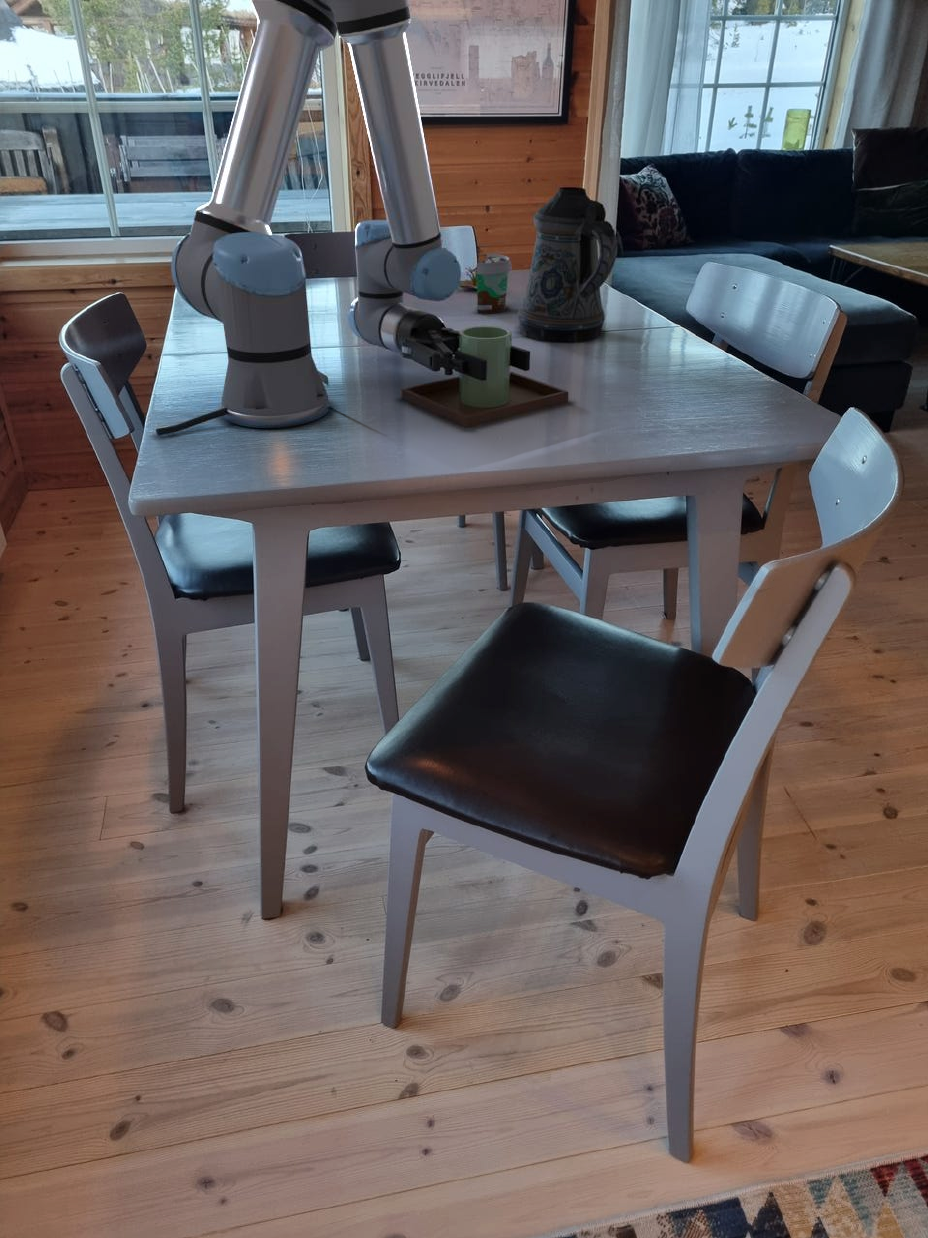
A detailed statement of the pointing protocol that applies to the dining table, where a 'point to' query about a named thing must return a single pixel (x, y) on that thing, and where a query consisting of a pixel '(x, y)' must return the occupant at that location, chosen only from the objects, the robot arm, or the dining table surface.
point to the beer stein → (568, 269)
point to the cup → (497, 353)
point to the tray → (447, 404)
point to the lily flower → (469, 281)
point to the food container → (492, 283)
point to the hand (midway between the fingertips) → (506, 365)
